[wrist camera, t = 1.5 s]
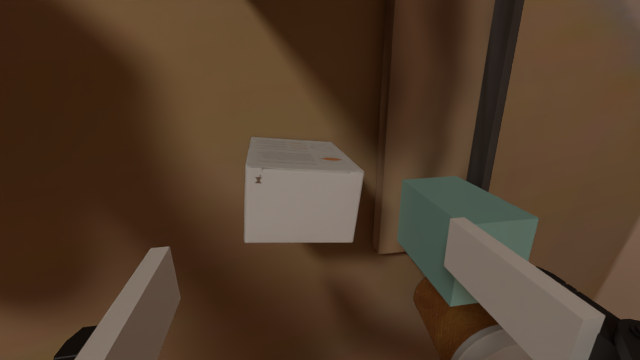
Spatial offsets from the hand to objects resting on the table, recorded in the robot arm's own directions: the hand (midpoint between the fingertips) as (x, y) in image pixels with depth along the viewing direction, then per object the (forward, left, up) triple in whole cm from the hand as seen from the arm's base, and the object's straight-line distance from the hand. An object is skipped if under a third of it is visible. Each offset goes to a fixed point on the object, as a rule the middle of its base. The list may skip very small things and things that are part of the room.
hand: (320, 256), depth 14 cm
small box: (0, 0, -17) cm, 17 cm away
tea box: (+14, -5, -15) cm, 21 cm away
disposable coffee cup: (+18, -18, -17) cm, 31 cm away
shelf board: (+14, +4, -17) cm, 22 cm away
